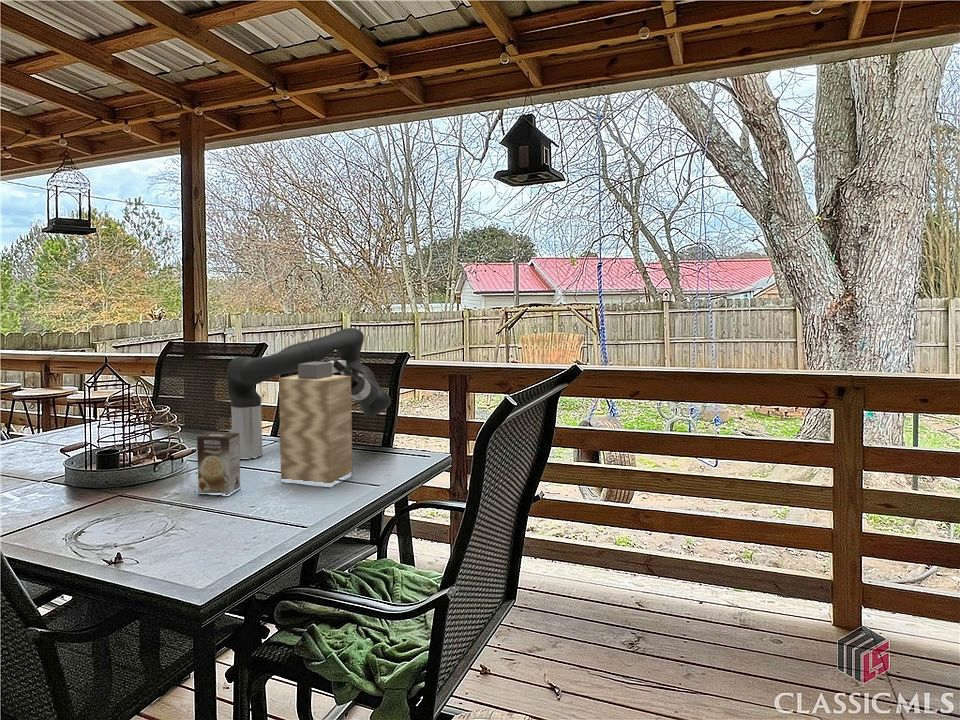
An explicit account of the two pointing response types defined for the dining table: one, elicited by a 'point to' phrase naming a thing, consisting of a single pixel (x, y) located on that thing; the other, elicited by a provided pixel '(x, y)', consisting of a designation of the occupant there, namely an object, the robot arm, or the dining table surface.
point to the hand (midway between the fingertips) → (329, 362)
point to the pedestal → (315, 428)
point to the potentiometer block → (317, 369)
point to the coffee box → (218, 462)
